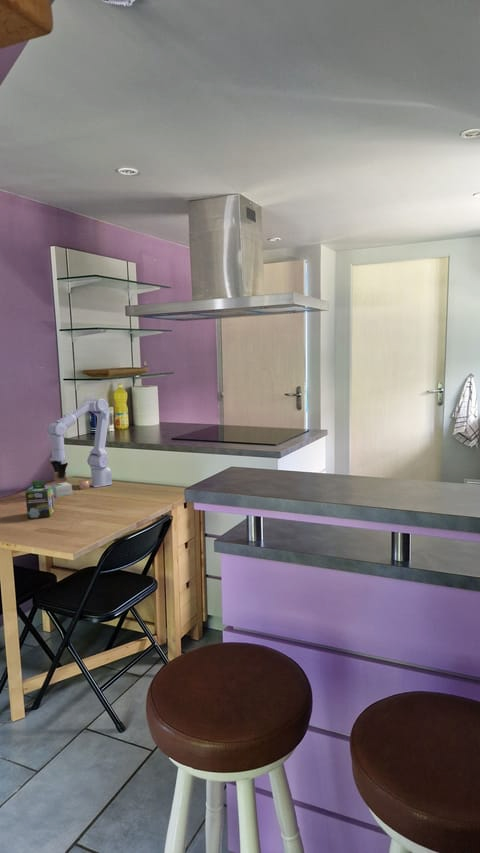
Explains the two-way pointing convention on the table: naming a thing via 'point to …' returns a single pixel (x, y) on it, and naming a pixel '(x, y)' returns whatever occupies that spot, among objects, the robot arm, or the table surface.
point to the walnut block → (57, 479)
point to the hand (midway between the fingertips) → (60, 476)
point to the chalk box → (40, 500)
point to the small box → (62, 489)
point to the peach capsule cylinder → (84, 484)
